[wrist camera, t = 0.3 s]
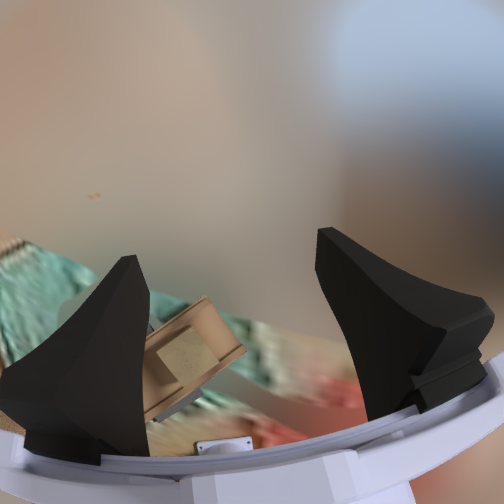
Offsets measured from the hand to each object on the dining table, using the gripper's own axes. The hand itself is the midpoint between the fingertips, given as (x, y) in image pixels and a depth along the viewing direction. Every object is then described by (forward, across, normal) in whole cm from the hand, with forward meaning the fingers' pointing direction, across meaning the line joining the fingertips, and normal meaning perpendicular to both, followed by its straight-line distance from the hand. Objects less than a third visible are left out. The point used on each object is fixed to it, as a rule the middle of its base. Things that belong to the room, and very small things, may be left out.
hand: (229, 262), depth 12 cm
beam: (+11, +13, +25) cm, 31 cm away
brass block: (+12, +7, +22) cm, 27 cm away
